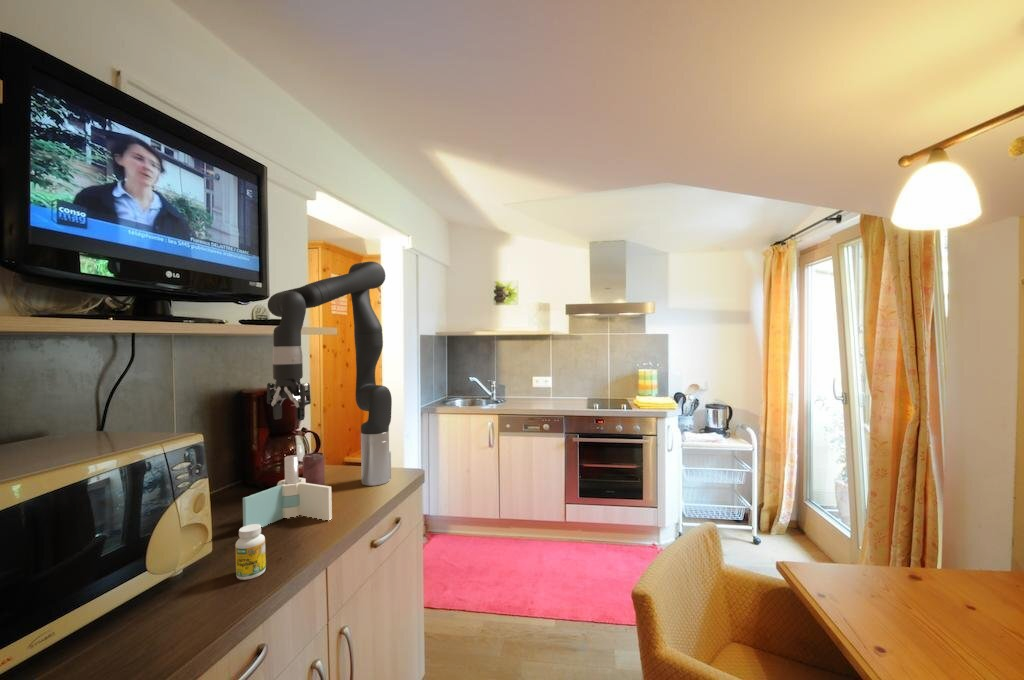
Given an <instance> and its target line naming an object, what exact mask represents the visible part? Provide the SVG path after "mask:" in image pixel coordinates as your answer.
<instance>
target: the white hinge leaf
mask: <svg viewBox="0 0 1024 680" xmlns="http://www.w3.org/2000/svg"><path fill="white" fill-rule="evenodd" d="M279 485H282V496H293V495H298V494H299V497H300V505H298V506H293V507H286V508H284V507H283V518H287V519H291V518H290V517H294V518H297V517H296V516H298V517H300V516H299V515H302V516H301V517H303V516H307V517H306V518H309V517H312V518H311V519H314V518H317V519H316V520H319V519H322V520H321V521H325V520H328V521H327V522H330V521H329V520H331V519H332V520H333V512H332V511H333V509H332V506H333V505H332V504H333V503H332V501H333V497H332V496H333V494H332V486H329V485H325V486H324V485H317V484H310V483H306V478H303V477H299V482H298V483H295V484H288V485H286V484H285V479H282V480H279V481H278V482H277V484H276V486H279ZM283 518H282V519H283ZM332 520H331V521H332Z"/></svg>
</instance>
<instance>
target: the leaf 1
mask: <svg viewBox="0 0 1024 680" xmlns="http://www.w3.org/2000/svg"><path fill="white" fill-rule="evenodd" d="M298 505H300V497H299V494H298V495H293V496H282V485H279V486H277V485H276V486H273V487H270V488H268V489H265V490H262V491H259V492H256V493H253V494H250V495H249V496H245V497H242V527H244V526H247V525H251V524H259V525H261V527H262V528H264V527H266V526H269V525H271V524H272V523H275V522H277V521H280V520H282V519H283V507H284V508H286V507H293V506H298ZM270 523H271V524H270ZM268 524H269V525H268Z"/></svg>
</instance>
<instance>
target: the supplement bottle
mask: <svg viewBox="0 0 1024 680" xmlns="http://www.w3.org/2000/svg"><path fill="white" fill-rule="evenodd" d="M238 536H239V538H238V539H237V541H236V542H235V545H234V546H235V549H234V550H235V576H236V578H237V579H238V580H243V581H246V580H250V579H254V578H257V577H259V576H261V575H262V574H264V573H265V571H266V567H267V559H266V537H265V535H264V534H262V528H261V525H259V524H251V525H247V526H244V527H243V526H242V527H240V528H239V530H238Z"/></svg>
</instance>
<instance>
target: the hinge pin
mask: <svg viewBox="0 0 1024 680" xmlns="http://www.w3.org/2000/svg"><path fill="white" fill-rule="evenodd" d="M283 459H284V480H285V484H286V485H288V484H295V483H298V482H299V478H300V476H299V474H300V473H299V455H297V454H293V455H286V456H285V457H284V458H283Z"/></svg>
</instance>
